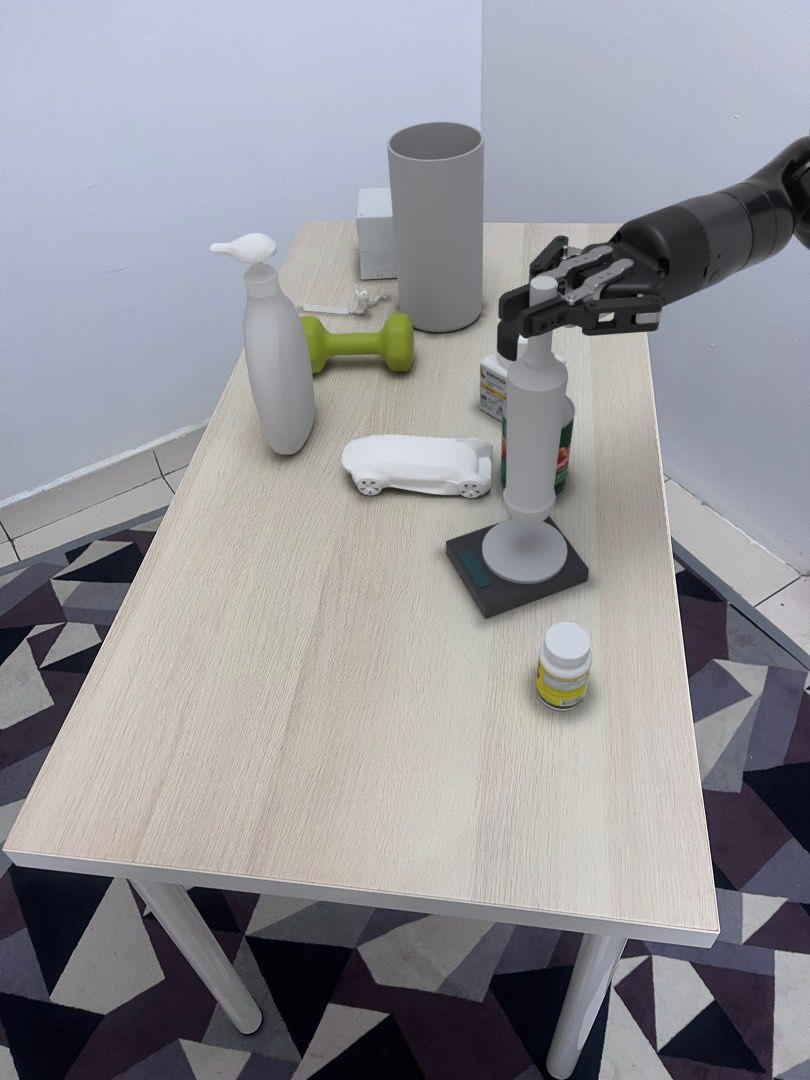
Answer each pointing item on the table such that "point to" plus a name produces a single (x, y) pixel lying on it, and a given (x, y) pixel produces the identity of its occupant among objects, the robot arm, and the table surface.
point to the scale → (515, 564)
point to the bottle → (534, 421)
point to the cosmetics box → (376, 233)
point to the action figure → (340, 310)
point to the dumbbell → (362, 342)
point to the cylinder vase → (438, 222)
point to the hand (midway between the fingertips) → (511, 318)
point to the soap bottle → (273, 348)
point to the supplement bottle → (564, 666)
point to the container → (501, 367)
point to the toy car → (420, 464)
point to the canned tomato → (562, 453)
